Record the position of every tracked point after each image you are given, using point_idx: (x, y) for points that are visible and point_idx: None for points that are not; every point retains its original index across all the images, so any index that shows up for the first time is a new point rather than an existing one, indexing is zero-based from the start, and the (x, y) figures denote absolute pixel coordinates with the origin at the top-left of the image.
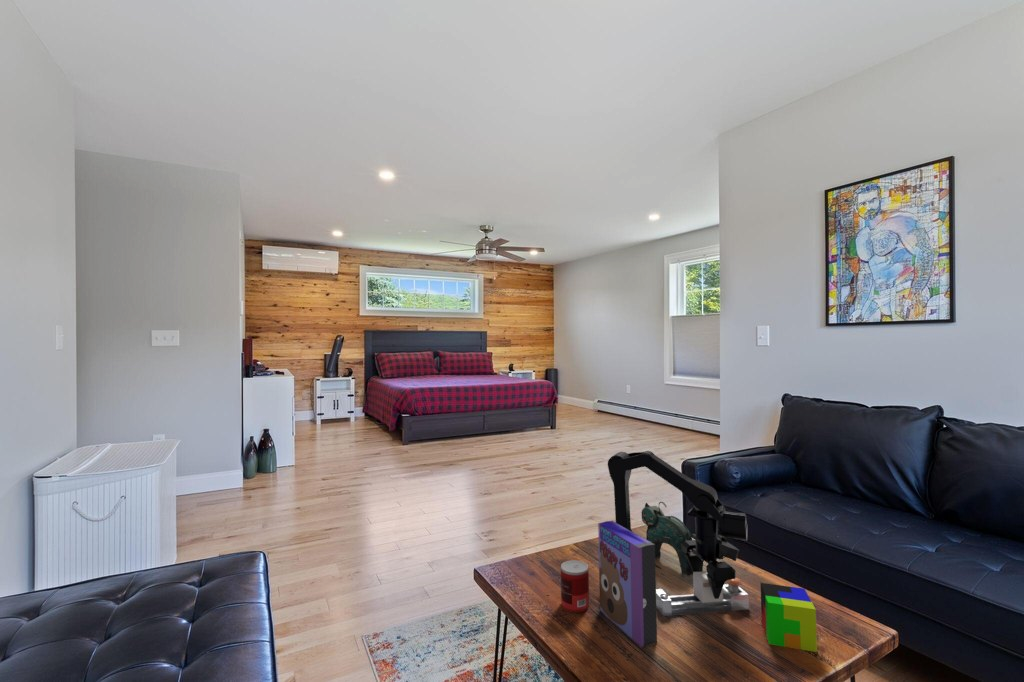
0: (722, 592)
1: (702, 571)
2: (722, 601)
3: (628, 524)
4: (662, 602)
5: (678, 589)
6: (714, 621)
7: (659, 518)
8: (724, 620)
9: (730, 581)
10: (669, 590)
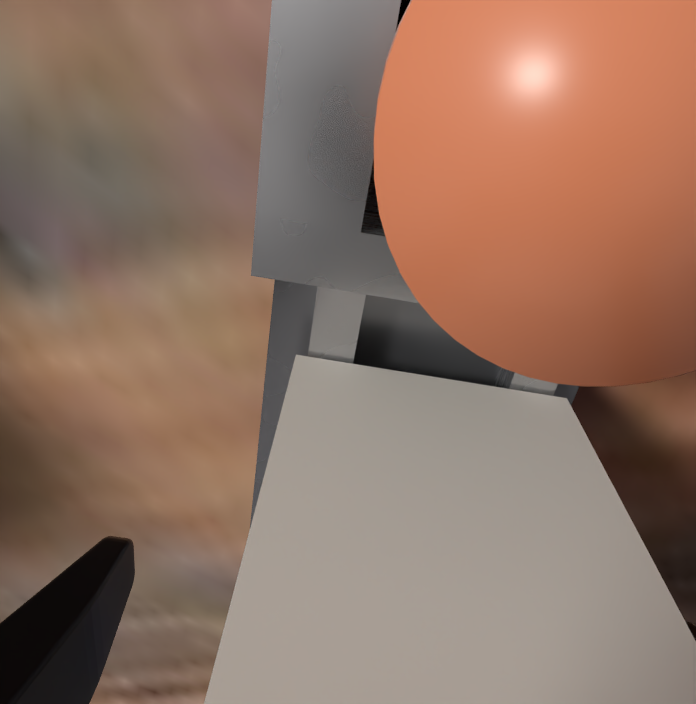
0: (615, 502)
1: None
2: (550, 393)
3: None
4: None
5: (12, 492)
6: (641, 534)
7: None
8: (687, 450)
9: (686, 353)
10: (33, 565)
